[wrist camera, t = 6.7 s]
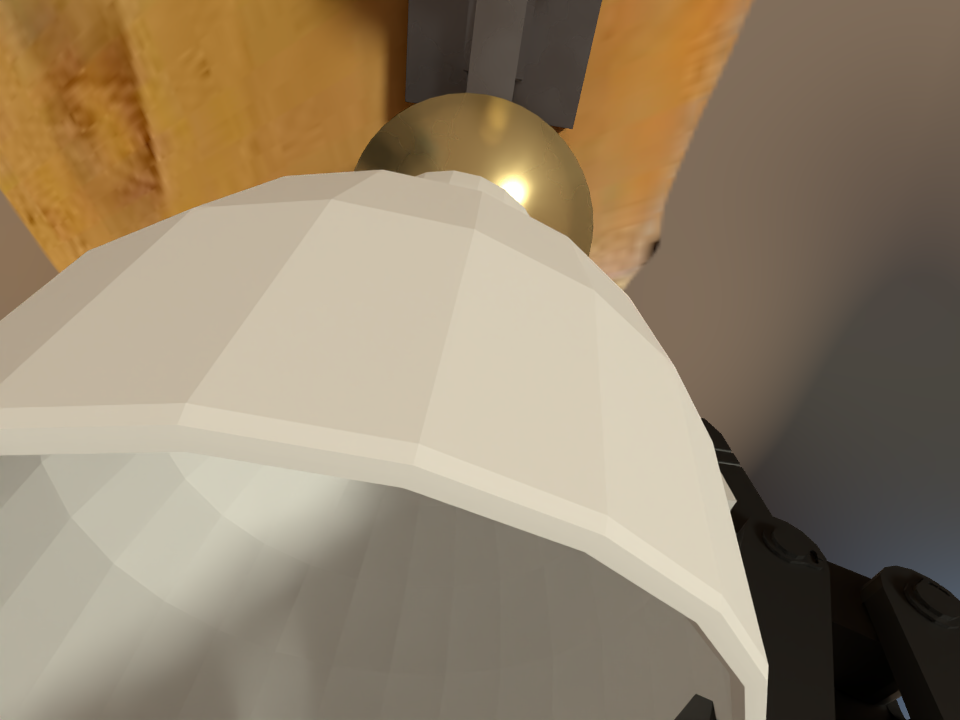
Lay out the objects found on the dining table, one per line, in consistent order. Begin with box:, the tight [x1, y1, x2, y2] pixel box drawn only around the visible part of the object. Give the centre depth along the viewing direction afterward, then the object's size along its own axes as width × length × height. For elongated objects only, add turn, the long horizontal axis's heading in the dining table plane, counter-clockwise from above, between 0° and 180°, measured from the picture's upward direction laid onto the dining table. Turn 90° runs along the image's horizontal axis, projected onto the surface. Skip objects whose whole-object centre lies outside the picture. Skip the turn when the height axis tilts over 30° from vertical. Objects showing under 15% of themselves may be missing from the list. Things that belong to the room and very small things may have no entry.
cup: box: [0, 170, 768, 720], centre depth 11 cm, size 11×11×15 cm
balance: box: [354, 0, 602, 257], centre depth 19 cm, size 13×31×12 cm, turn 172°
